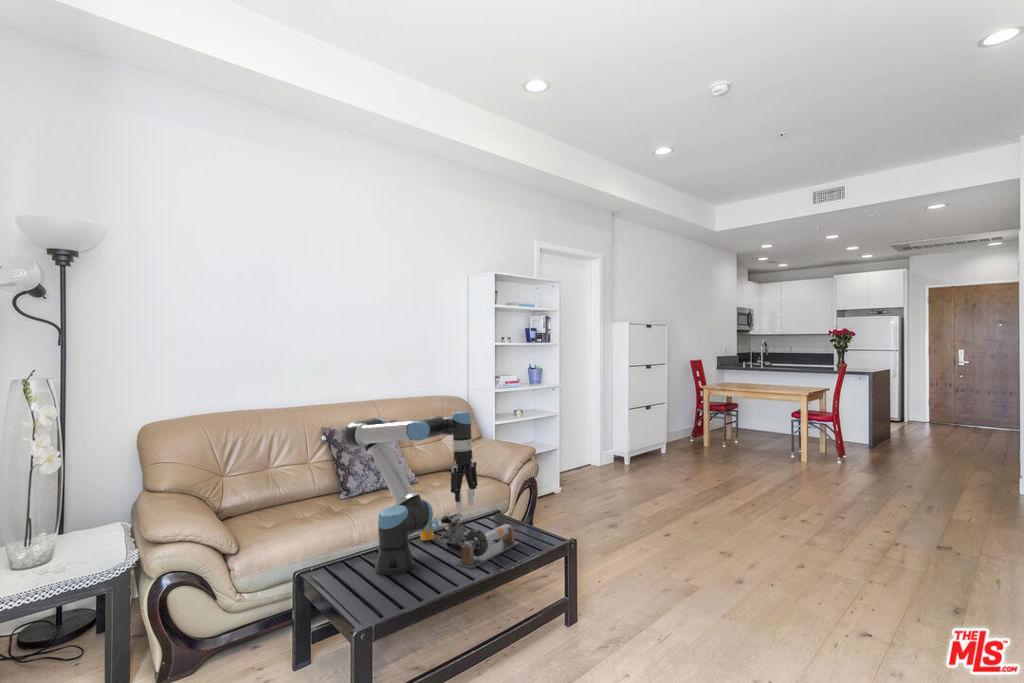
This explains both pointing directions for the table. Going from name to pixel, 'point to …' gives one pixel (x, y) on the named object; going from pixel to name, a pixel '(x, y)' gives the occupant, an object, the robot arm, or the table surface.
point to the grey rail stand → (492, 551)
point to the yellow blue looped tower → (429, 531)
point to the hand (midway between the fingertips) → (465, 507)
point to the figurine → (453, 529)
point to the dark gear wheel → (481, 539)
